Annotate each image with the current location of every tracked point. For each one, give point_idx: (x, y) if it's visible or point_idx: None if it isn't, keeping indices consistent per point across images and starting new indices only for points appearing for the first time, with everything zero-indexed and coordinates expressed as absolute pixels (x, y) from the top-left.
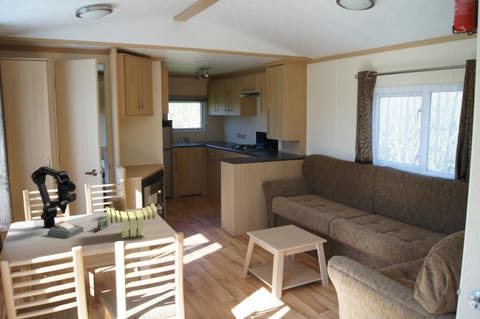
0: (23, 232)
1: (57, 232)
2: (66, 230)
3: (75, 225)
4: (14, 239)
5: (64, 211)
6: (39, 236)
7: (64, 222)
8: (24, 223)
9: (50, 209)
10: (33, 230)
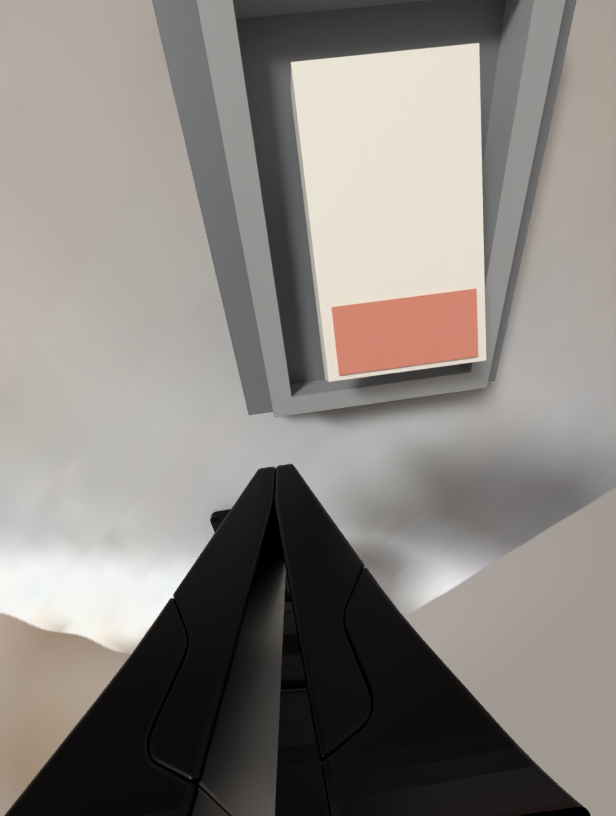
0: (421, 560)
1: (528, 223)
2: (560, 13)
3: (245, 102)
4: (561, 502)
5: (279, 493)
6: (486, 415)
7: (354, 305)
8: None
9: (282, 729)
10: (368, 548)
